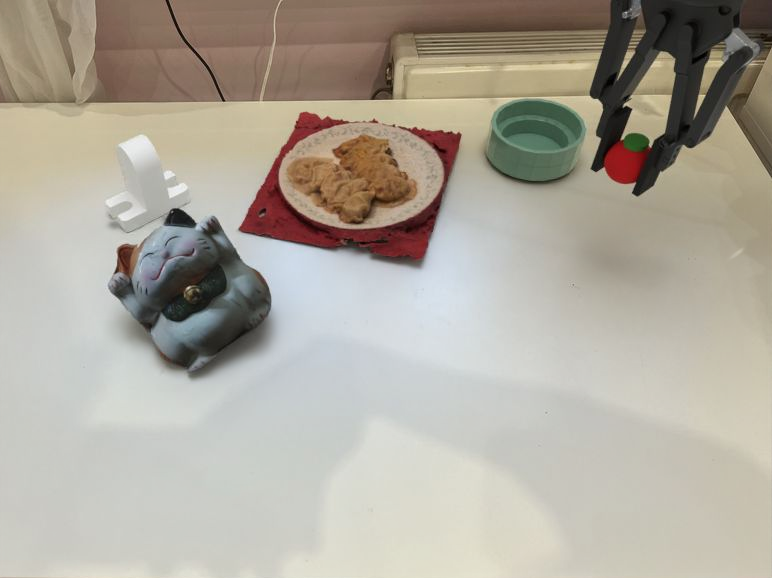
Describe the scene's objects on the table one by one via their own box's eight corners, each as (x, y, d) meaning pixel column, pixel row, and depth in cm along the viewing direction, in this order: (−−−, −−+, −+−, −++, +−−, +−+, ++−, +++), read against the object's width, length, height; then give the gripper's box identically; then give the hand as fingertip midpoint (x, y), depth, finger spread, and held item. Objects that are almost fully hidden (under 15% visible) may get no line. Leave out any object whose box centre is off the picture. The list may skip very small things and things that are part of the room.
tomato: (638, 165, 74) (655, 126, 70) (649, 193, 71) (666, 154, 67) (594, 165, 74) (608, 126, 70) (603, 193, 71) (618, 154, 67)
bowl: (568, 130, 98) (577, 98, 94) (582, 185, 91) (594, 153, 87) (481, 128, 99) (487, 97, 95) (489, 183, 91) (496, 152, 87)
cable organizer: (192, 200, 91) (178, 136, 84) (127, 233, 88) (106, 170, 80) (171, 181, 94) (156, 117, 86) (107, 212, 91) (85, 149, 83)
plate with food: (460, 144, 97) (464, 123, 94) (422, 266, 82) (424, 245, 79) (301, 120, 102) (300, 99, 100) (238, 230, 87) (234, 209, 85)
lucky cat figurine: (165, 391, 73) (86, 288, 65) (159, 340, 83) (91, 246, 76) (288, 322, 72) (222, 211, 65) (267, 279, 83) (208, 179, 75)
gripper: (596, -82, 57) (532, 152, 75) (801, -8, 48) (673, 237, 67) (651, -107, 59) (577, 126, 78) (856, -41, 51) (717, 204, 69)
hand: (621, 176), depth 72 cm, fingers closed on tomato, 4 cm apart
